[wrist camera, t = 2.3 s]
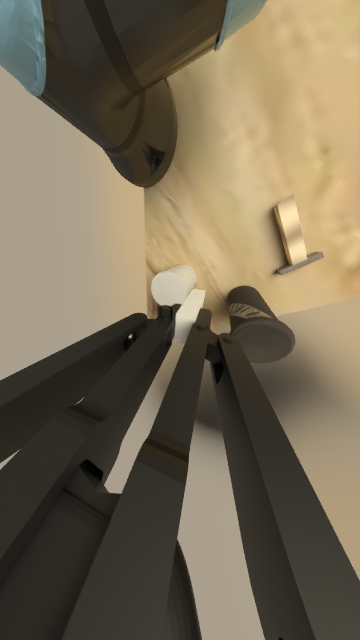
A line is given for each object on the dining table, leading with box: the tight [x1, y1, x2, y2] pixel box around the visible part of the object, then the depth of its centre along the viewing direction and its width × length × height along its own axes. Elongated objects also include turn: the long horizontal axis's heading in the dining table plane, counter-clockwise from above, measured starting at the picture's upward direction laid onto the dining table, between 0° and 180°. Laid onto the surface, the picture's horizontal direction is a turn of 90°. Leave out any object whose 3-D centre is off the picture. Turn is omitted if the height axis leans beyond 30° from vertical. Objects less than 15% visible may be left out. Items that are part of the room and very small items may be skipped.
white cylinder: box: [151, 264, 197, 306], centre depth 32 cm, size 8×8×12 cm
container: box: [228, 286, 295, 363], centre depth 27 cm, size 9×9×20 cm
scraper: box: [273, 194, 324, 275], centre depth 26 cm, size 13×7×2 cm, turn 32°
